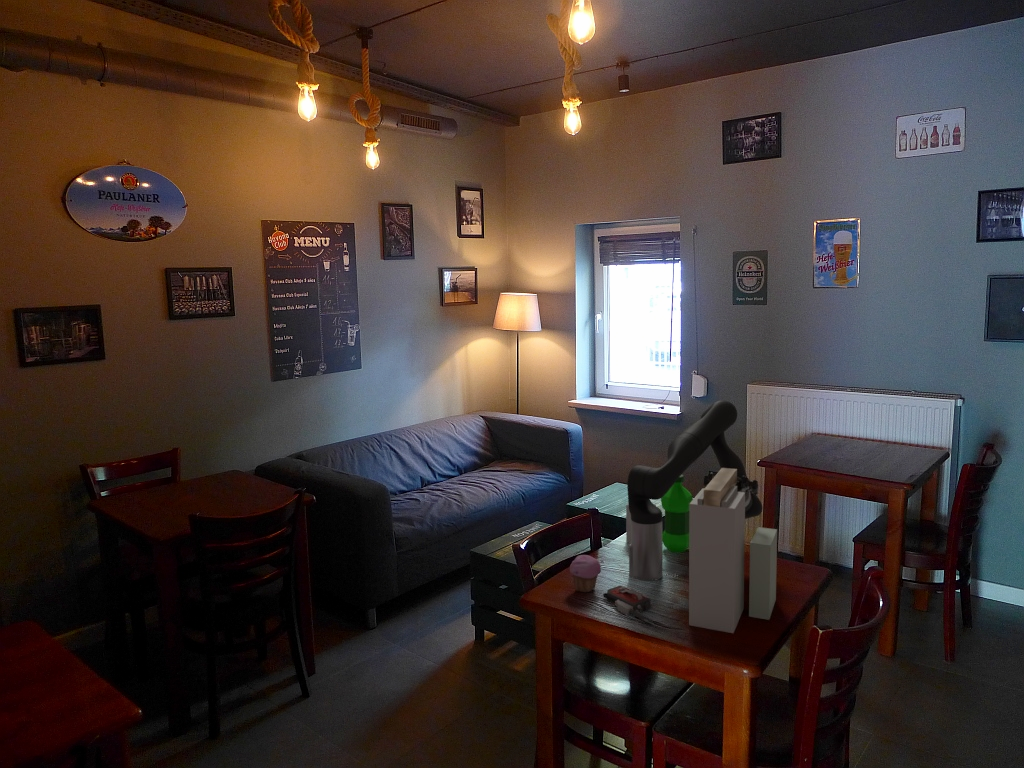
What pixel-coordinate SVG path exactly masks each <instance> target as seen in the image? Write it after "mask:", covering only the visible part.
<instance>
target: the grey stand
mask: <svg viewBox="0 0 1024 768" xmlns="http://www.w3.org/2000/svg"><path fill="white" fill-rule="evenodd" d="M704 489H705V487H703V488H701V490H700V491H699V492H698V493H697V494H696V495H695V497H693V500H692V501H691V502H690V504H689V548H688V551H689V552H688V556H689V557H688V565H689V567H688V572H689V573H688V575H689V577H688V626H691V627H697V628H701V629H702V628H703V629H707V630H712V631H718V632H723V633H724V632H725V633H731V634H734V633H735V631H736V628H737V626H738V624H739V620H740V618H741V617H742V614H743V611H744V610H745V609H744V608H745V606H744V605H745V603H744V602H745V599H744V598H745V545H746V544H745V541H746V540H745V537H746V536H745V532H746V531H745V529H746V523H745V522H746V519H745V492H737V486H732V487H731V489H730V490H729V491H728V493H727V494H726V496H725V497H724V498H723V500H722V501H721V507H715V506H705V505H704Z"/></svg>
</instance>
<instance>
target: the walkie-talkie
mask: <svg viewBox="0 0 1024 768" xmlns="http://www.w3.org/2000/svg"><path fill="white" fill-rule="evenodd" d="M602 597H603V598H604V599H606V601H608V602H610V603H611V604H614V605H615V606H616V608H617V611H618V612H620V613H622V614H624V615H626V616H627V617H628V616H630V615H632V616H635V617H637V618H639V619H640V620H644V621H647V622H648V623H651V624H652V623H653V622H654V621H653V619H651V618H649V617H647V616H646V615H643V614H641V612H643V611H649V610H650V609H651V608H652V603H651V602H652V601H651V600H652V599H651V598H650V597H647V596H645V595H644V594H643V593H641V592H640V591H637V590H635V589H633V588H631V589H630V588H628V587H626V586H622V585H617V586H614V587H610V588H609V589H607V591H606V592H605V593H603V596H602Z"/></svg>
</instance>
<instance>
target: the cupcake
mask: <svg viewBox="0 0 1024 768" xmlns="http://www.w3.org/2000/svg"><path fill="white" fill-rule="evenodd" d="M601 569H602V568H601V564H600V562H599V560H598V559H597V558H595V557H593V556H591V555H588V554H580V555H577V556H576V557H575V558H574V560H572V562H571V564H570V566H569V572H570V573H571V575H572V577H573V586H574V589H575V590H576V591H577V592H580V593H589V592H592V591H593V590H594V589H595V588H596V585H597V584H596V583H597V579H598V576H599V574H600V573H601V571H602V570H601Z"/></svg>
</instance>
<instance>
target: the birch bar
mask: <svg viewBox="0 0 1024 768" xmlns="http://www.w3.org/2000/svg"><path fill="white" fill-rule="evenodd" d="M736 484H737V469H730V468H720V470H718V472H717V473H716V474H715V477H714V478H713V479H712V480H711V481H710V483H709V484H708V485H707V486H706V487H705V486H704V488H705V489H704V505H705V506H715V507H721V501H722V500H723V498H724V497H725V496H726V494H727V493H728V491H729V490H730V489H731V487H732V486H735V485H736Z"/></svg>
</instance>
